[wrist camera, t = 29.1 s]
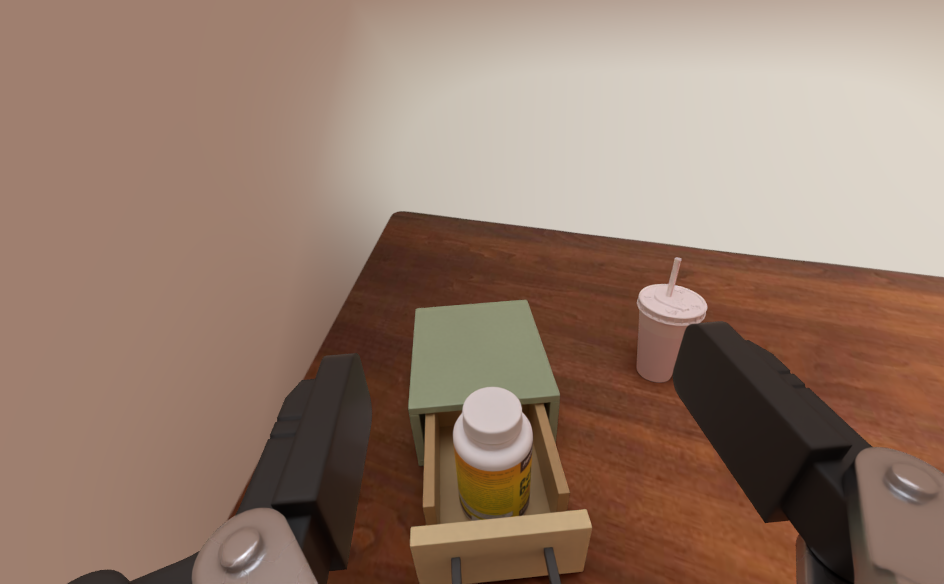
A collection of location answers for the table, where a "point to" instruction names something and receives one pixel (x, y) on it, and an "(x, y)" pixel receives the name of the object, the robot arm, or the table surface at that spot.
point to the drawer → (502, 539)
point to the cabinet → (477, 360)
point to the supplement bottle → (493, 455)
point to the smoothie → (665, 325)
